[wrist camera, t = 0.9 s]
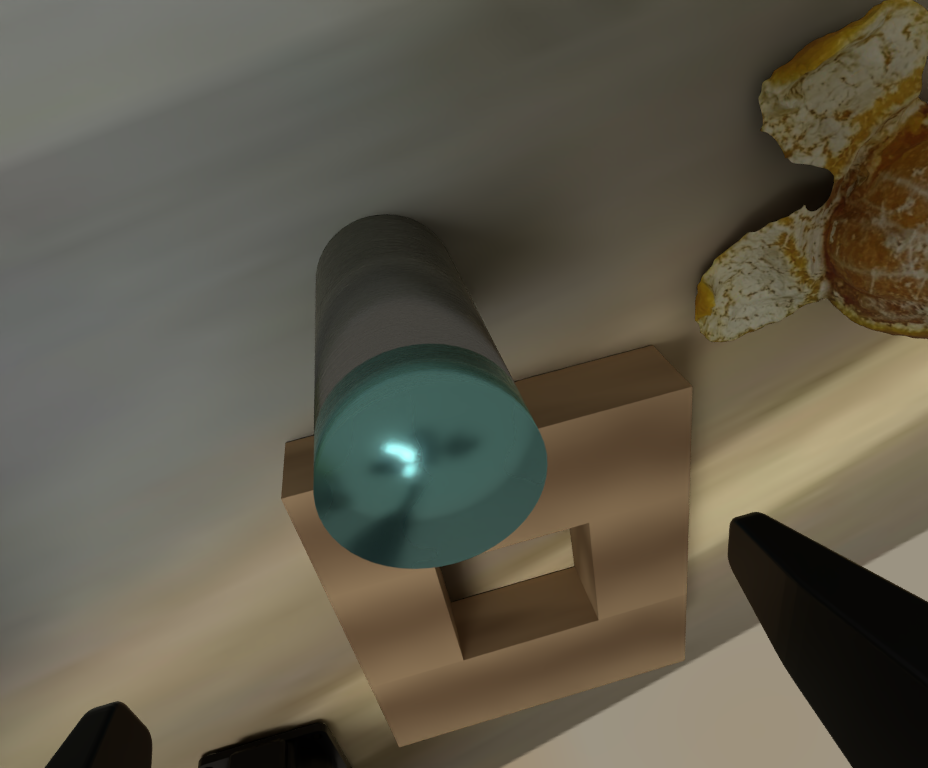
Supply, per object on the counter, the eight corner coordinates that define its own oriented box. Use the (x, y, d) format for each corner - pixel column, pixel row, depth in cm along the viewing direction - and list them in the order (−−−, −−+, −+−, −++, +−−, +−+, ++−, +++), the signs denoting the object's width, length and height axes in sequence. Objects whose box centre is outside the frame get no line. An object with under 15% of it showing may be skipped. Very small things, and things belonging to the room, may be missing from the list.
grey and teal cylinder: (464, 325, 21) (558, 534, 13) (339, 357, 21) (352, 592, 13) (438, 199, 19) (532, 356, 10) (296, 233, 19) (278, 423, 10)
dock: (656, 608, 32) (684, 660, 29) (392, 687, 31) (399, 747, 29) (652, 345, 23) (692, 386, 21) (285, 443, 22) (281, 498, 20)
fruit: (802, -16, 17) (945, -20, 13) (1088, 53, 20) (1281, 66, 16) (672, 334, 23) (746, 406, 19) (911, 351, 25) (1021, 419, 21)
